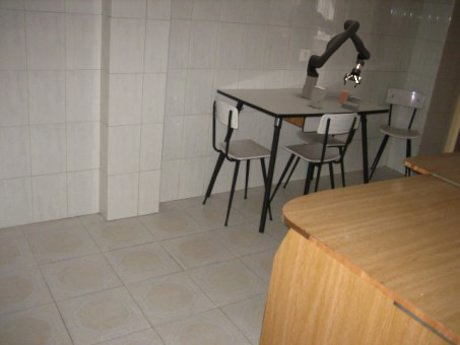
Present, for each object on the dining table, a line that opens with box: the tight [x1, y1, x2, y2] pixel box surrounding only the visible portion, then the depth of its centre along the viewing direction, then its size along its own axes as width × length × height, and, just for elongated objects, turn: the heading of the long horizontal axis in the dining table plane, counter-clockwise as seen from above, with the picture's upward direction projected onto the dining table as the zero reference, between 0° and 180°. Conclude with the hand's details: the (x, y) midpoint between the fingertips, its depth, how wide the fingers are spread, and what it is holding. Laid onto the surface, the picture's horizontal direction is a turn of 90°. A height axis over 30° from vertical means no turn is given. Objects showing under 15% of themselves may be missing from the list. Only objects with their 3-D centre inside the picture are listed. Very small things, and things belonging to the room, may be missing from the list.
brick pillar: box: [338, 89, 350, 105], centre depth 373 cm, size 5×5×10 cm
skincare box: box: [308, 85, 328, 109], centre depth 343 cm, size 8×6×15 cm
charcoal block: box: [341, 101, 360, 112], centre depth 361 cm, size 11×11×4 cm
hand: (349, 85), depth 378 cm, fingers open, 8 cm apart
